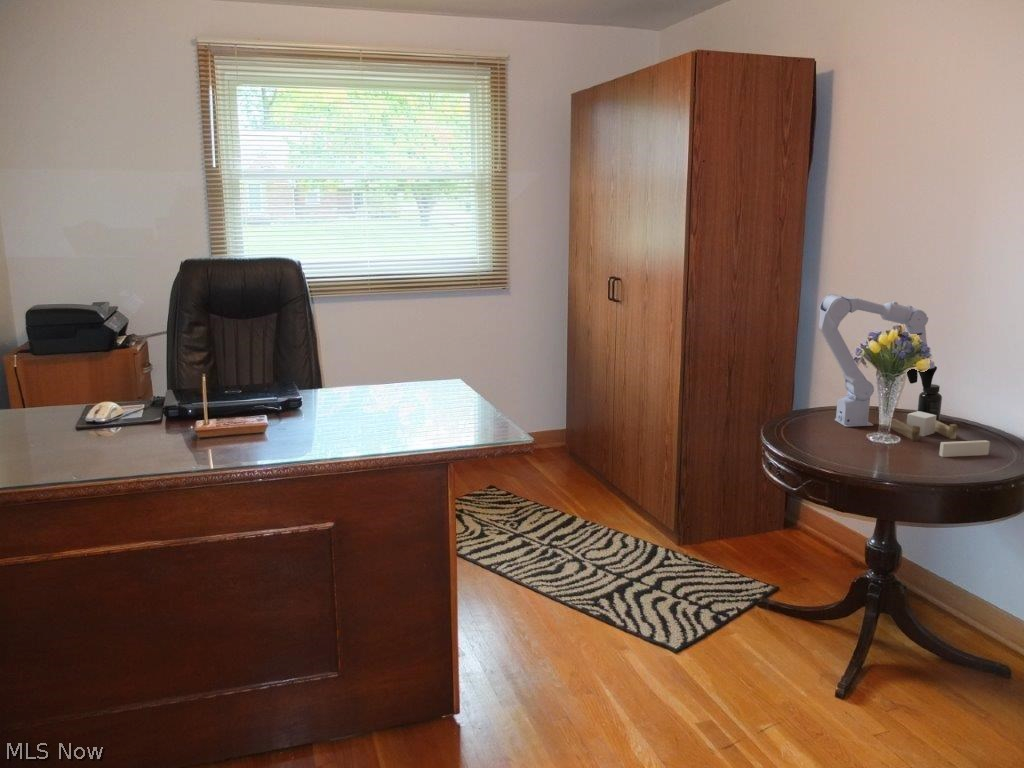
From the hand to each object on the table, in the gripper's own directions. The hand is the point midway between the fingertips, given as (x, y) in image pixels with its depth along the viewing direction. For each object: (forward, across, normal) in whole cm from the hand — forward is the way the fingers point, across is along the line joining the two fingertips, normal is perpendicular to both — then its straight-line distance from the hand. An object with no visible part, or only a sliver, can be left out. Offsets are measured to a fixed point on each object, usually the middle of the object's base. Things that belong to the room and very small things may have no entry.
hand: (920, 385), depth 258 cm
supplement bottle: (+14, +3, -4) cm, 15 cm away
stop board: (+13, -31, +6) cm, 34 cm away
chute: (+12, -10, +6) cm, 17 cm away
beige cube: (+13, -9, +6) cm, 17 cm away
